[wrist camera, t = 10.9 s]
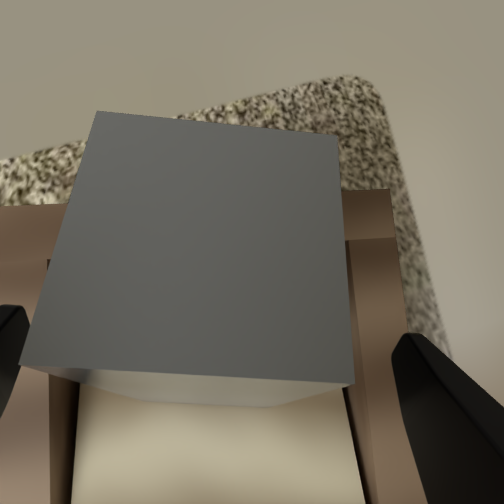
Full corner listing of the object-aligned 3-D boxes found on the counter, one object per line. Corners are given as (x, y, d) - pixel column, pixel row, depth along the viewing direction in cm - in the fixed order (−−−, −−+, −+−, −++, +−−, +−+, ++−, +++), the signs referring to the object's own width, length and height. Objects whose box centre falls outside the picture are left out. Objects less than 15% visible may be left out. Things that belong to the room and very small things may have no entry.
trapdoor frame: (384, 524, 22) (443, 599, 16) (46, 583, 19) (-18, 695, 14) (348, 213, 24) (389, 188, 19) (41, 230, 21) (-15, 206, 16)
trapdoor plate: (362, 524, 17) (371, 530, 16) (73, 574, 15) (64, 585, 14) (312, 270, 23) (316, 263, 22) (93, 287, 21) (87, 280, 20)
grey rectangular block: (267, 407, 18) (354, 384, 7) (144, 401, 18) (18, 364, 6) (270, 292, 21) (336, 135, 9) (162, 284, 20) (97, 110, 9)
